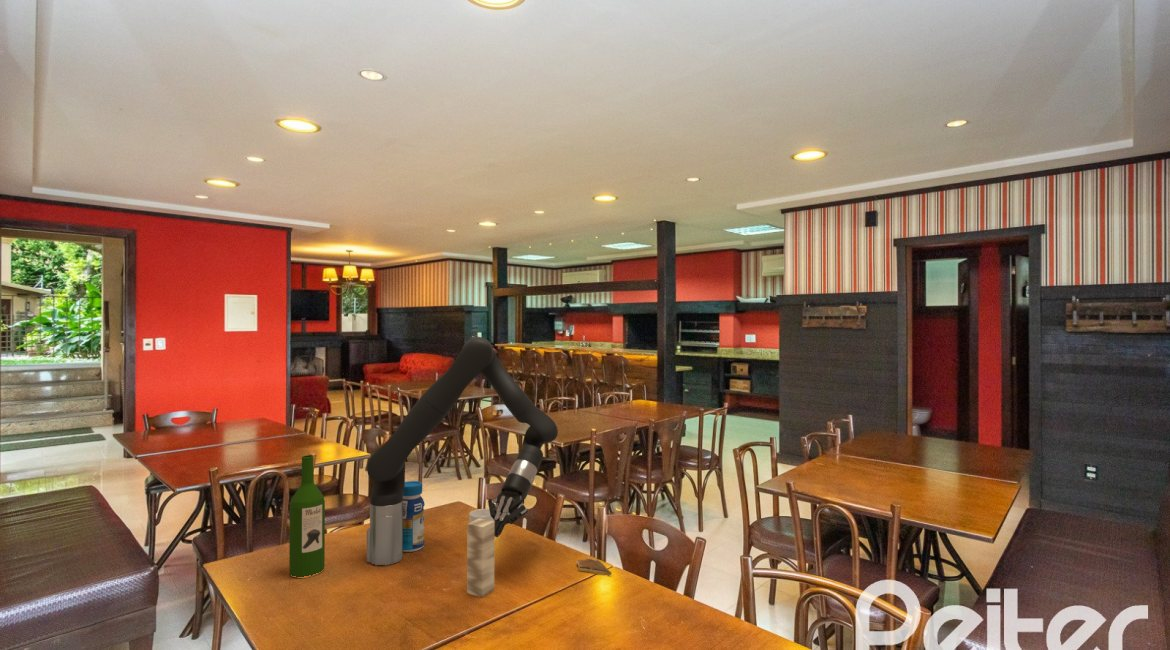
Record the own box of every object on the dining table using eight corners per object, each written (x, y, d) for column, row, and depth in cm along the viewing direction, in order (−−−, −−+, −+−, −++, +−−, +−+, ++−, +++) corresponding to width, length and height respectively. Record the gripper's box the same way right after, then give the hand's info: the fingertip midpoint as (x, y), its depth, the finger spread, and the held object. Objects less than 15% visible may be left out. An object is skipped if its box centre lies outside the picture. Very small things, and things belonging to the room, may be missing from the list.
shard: (611, 578, 159) (612, 571, 159) (586, 582, 157) (586, 575, 157) (597, 563, 170) (597, 557, 170) (572, 566, 167) (572, 560, 167)
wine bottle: (299, 581, 155) (299, 461, 155) (283, 572, 161) (283, 456, 161) (330, 570, 162) (331, 455, 162) (314, 562, 168) (315, 451, 168)
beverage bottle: (395, 544, 181) (395, 481, 181) (422, 540, 185) (422, 478, 185) (398, 554, 174) (398, 488, 174) (427, 550, 177) (427, 485, 177)
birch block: (466, 593, 149) (467, 524, 149) (479, 585, 154) (479, 518, 154) (482, 597, 147) (482, 527, 147) (494, 589, 151) (494, 521, 151)
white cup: (497, 540, 186) (497, 509, 186) (490, 549, 178) (490, 517, 178) (473, 539, 187) (473, 508, 187) (465, 548, 179) (466, 516, 179)
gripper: (496, 469, 167) (468, 524, 156) (534, 475, 161) (508, 533, 150) (506, 483, 171) (480, 537, 161) (544, 489, 165) (519, 546, 154)
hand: (494, 535), depth 155 cm, fingers closed
